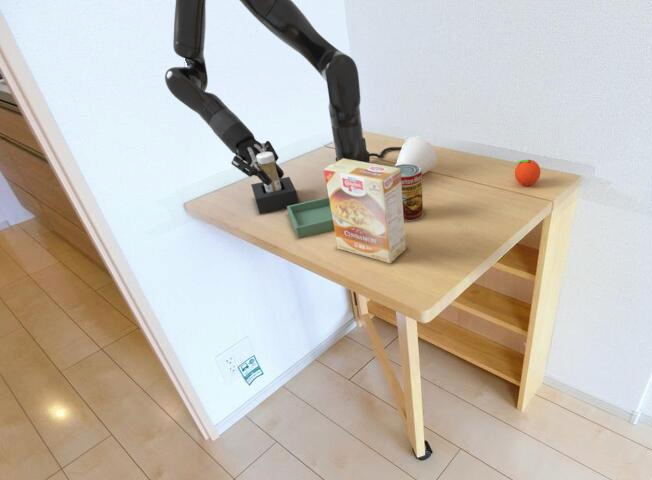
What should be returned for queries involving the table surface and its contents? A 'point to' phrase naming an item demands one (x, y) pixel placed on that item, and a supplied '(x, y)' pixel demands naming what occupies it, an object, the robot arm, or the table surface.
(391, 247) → the coffeecake box
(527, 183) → the clementine
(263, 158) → the spice jar
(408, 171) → the canned food
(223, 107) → the robot arm
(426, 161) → the rocket engine
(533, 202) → the table surface
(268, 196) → the holder
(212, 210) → the table surface
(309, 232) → the tray
